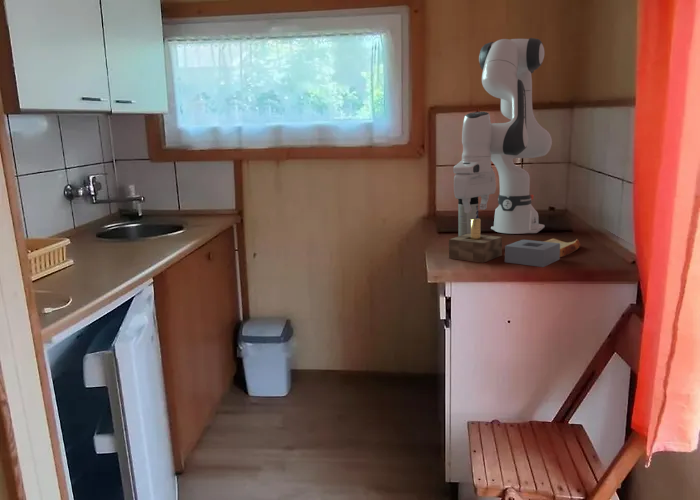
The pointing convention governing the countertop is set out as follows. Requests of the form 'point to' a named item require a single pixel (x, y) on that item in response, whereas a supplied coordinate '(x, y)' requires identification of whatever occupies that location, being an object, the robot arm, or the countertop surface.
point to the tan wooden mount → (475, 248)
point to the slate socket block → (532, 253)
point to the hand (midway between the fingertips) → (475, 211)
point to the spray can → (466, 216)
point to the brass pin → (475, 229)
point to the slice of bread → (566, 246)
